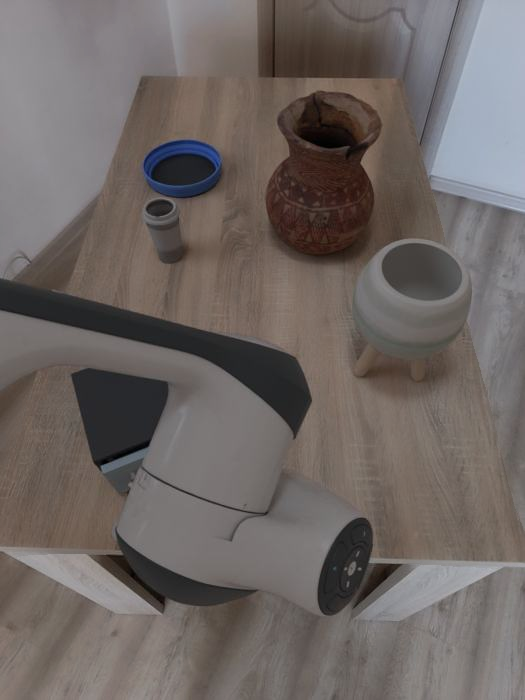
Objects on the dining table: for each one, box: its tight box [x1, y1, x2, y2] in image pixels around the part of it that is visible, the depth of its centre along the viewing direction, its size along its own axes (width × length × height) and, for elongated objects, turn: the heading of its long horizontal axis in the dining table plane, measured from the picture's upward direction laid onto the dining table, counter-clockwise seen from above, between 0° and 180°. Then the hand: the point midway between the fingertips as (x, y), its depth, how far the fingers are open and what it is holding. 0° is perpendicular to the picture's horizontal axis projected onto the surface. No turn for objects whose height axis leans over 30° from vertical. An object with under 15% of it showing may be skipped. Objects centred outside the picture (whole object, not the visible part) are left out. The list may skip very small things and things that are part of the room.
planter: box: [351, 238, 473, 382], centre depth 72 cm, size 16×16×22 cm
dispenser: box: [70, 367, 169, 473], centre depth 71 cm, size 15×13×10 cm
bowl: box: [142, 138, 223, 198], centre depth 110 cm, size 18×18×4 cm
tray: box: [101, 442, 150, 495], centre depth 68 cm, size 18×11×8 cm, turn 24°
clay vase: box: [265, 90, 383, 255], centre depth 90 cm, size 22×21×25 cm
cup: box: [141, 196, 183, 264], centre depth 91 cm, size 7×7×12 cm
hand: (164, 452), depth 56 cm, fingers open, 8 cm apart
